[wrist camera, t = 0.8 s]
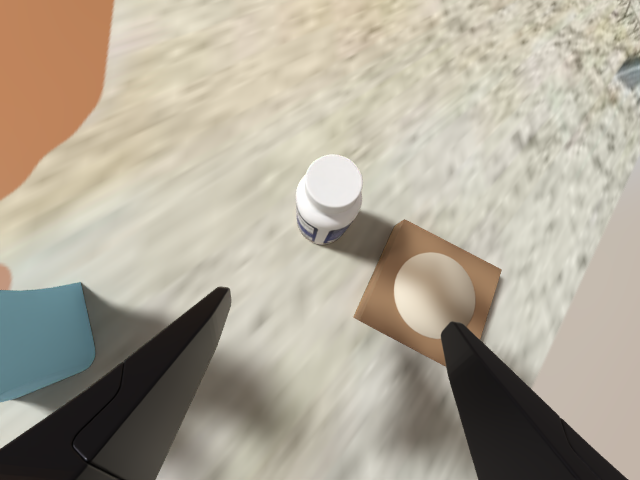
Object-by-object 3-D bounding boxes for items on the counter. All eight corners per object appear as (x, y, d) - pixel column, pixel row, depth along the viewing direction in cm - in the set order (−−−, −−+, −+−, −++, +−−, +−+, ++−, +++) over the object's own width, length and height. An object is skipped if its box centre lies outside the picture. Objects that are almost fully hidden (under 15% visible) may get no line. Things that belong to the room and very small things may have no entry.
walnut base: (449, 368, 23) (469, 379, 20) (353, 317, 23) (360, 321, 20) (482, 271, 25) (503, 269, 22) (394, 225, 25) (405, 218, 23)
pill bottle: (347, 202, 25) (376, 151, 16) (343, 248, 24) (371, 223, 15) (300, 194, 25) (300, 138, 16) (293, 241, 24) (289, 211, 14)
